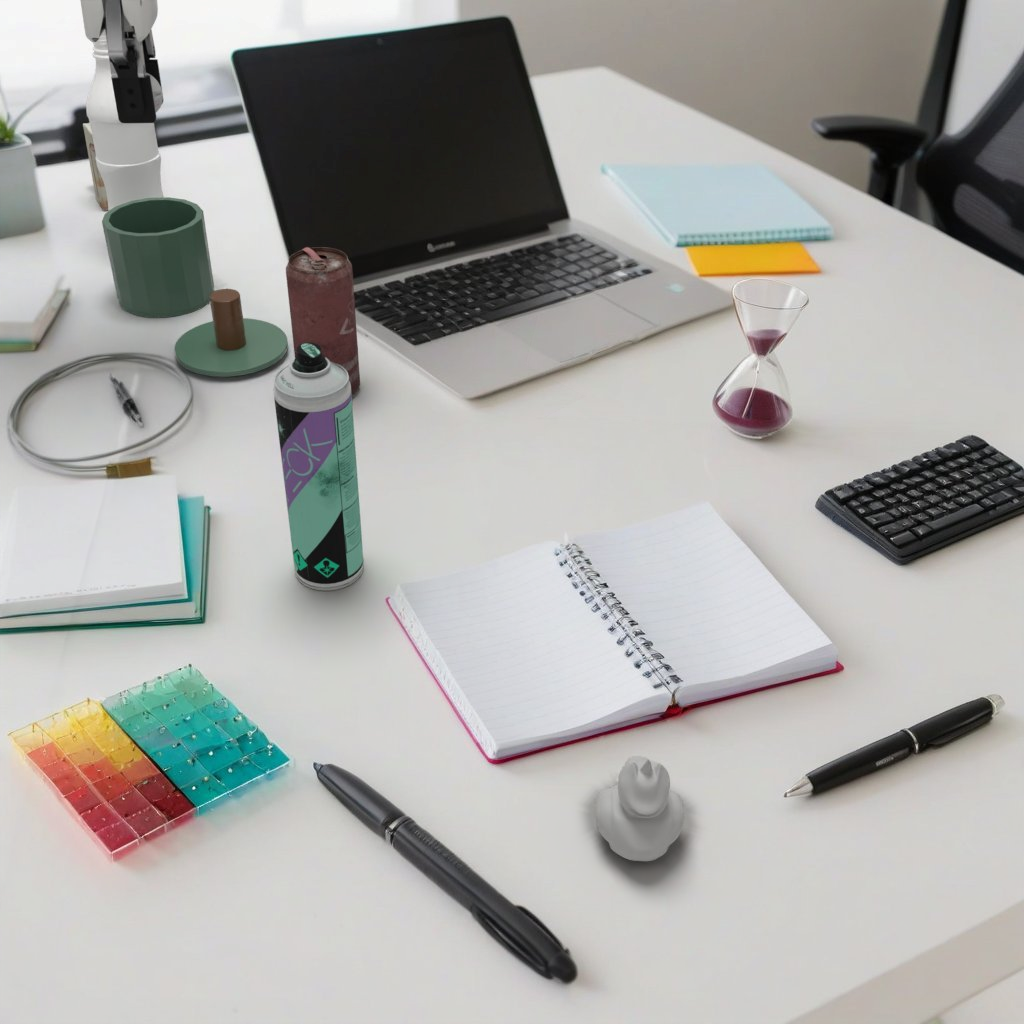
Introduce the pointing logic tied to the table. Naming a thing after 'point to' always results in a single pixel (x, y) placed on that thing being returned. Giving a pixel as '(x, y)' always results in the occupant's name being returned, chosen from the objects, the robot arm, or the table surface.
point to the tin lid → (230, 341)
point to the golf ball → (156, 93)
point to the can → (324, 306)
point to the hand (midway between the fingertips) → (141, 111)
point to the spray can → (319, 469)
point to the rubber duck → (640, 811)
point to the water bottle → (120, 141)
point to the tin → (159, 256)
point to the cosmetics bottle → (95, 169)
